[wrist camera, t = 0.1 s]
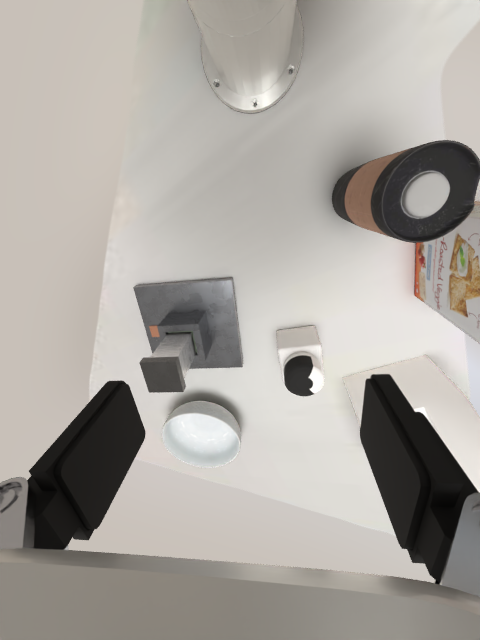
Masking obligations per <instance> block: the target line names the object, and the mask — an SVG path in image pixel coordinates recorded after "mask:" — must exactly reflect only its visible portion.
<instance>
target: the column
mask: <svg viewBox="0 0 480 640" xmlns="http://www.w3.org/2000/svg"><path fill="white" fill-rule="evenodd" d="M196 353H197V349H196V344H195V339H194V334H193V331H182V332H168V334H167V335H166V336H165V338H164V339H163V340H162V342H161V343H160V345H159V346H158V347H157V349H156V350H155V351H154V353H153V354H152V355H151V357H150V358H143V359H142V360H141V361H140V366H141V369H142V372H143V375H144V378H145V381H146V384H147V387H148V391H149V392H184V389H185V387H186V385H185V381H184V378H185V376H186V374H187V372H188V370H189V368H190V365H191V363H192V361H193V359H194V357H195V355H196Z"/></svg>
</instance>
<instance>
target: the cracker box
mask: <svg viewBox="0 0 480 640" xmlns="http://www.w3.org/2000/svg"><path fill="white" fill-rule="evenodd" d="M415 296H416V297H417V298H419V299H420V300H421V301H423V302H424V303H425V304H427V305H428V306H429V307H431V308H432V309H434V310H435V311H436V312H438V313H439V314H440V315H442V316H443V317H444V318H446V319H447V320H448V321H450V322H451V323H452V324H454V325H455V326H456V327H458V328H459V329H460V330H462V331H463V332H465V333H466V334H468V335H469V336H470V337H471V338H473V339H474V340H475V341H477V342H478V343H480V202H474V209H473V211H472V212H471V213H470V215H469V216H468V217H467V218H466V219H465V220H464V221H463V222H462V223H461V224H460V225H459V226H458V227H457V228H455V229H454V230H453V231H451V232H450V233H448V234H446V235H444V236H442V237H440V238H438V239H435V240H432V241H428V242H422V243H416V269H415Z"/></svg>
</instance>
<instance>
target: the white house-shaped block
mask: <svg viewBox="0 0 480 640" xmlns="http://www.w3.org/2000/svg"><path fill="white" fill-rule="evenodd" d="M372 374H390V375H391V376H392V378H393V379H394V381H395V382H396V384H397V385H398V387H399V388H400V390H401V391H402V393H403V394H404V396H405V397H406V399H407V400H408V402H409V403H410V405H411V406H412V408H413V409H414V411H415V412H421V413H423V414H424V415H425V417H426V418H427V419H428V421H429V422H430V423H431V425H432V426H433V428H434V429H435V431H436V432H437V433H438V435H439V436H440V438H441V439H442V441H443V442H444V443H445V445H446V446H447V448H448V449H449V451H450V452H451V453H452V455H453V456H454V458H455V459H456V460H457V462H458V463H459V465H460V466H461V468H462V469H463V470H464V472H465V473H466V475H467V476H468V478H469V479H470V480H471V482H472V483H473V485H474V486H475V488H476V489H477V490H478V492H479V493H480V417H479V415H478V414H477V412H476V411H475V409H474V407H473V406H472V404H471V403H470V401H469V399H468V398H467V397H466V396H465V395H464V394H463V392H462V391H461V390H460V389H459V388H458V387H457V386H456V385H455V384H454V383H453V382H452V381H451V380H450V379H449V378H448V377H447V376H446V375H445V374H444V373H443V372H442V371H441V370H440V369H439V368H438V367H437V366H436V365H435V364H434V363H433V362H432V361H431V359H430V358H429V357H428V356H427V355H423V356H419V357H415V358H412V359H408V360H404V361H401V362H397V363H393V364H390V365H386V366H382V367H379V368H375V369H371V370H368V371H364V372H360V373H357V374H353V375H349V376H346V377H342V378H343V381H344V384H345V386H346V389H347V392H348V395H349V398H350V400H351V403H352V406H353V409H354V411H355V414H356V417H357V420H358V423H359V425H360V427H361V418H362V408H363V399H364V390H365V381H366V379H369V378H371V375H372Z"/></svg>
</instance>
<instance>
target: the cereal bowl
mask: <svg viewBox="0 0 480 640" xmlns="http://www.w3.org/2000/svg"><path fill="white" fill-rule="evenodd" d="M162 441H163V444H164V446H165V447H166V449H167V450H168V451H169V452H170V453H171V454H172V455H173V456H174V457H175V458H177V459H178V460H180V461H182V462H184V463H186V464H189V465H192V466H196V467H203V468H213V467H219V466H223V465H226V464H228V463H230V462H231V461H232V460H234V459H235V457H236V456H237V455H238V453H239V451H240V446H241V433H240V428H239V425H238V423H237V421H236V419H235V418H234V416H233V415H232V414H231V413H230V412H229V411H228V410H226V409H225V408H224V407H222V406H220V405H218V404H215V403H212V402H207V401H192V402H188V403H185V404H183V405H181V406H179V407H177V408H176V409H175V410H174V411H173V412H172V413H171V414H170V415H169V417H168V418H167V420H166V422H165V424H164V426H163V429H162Z"/></svg>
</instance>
